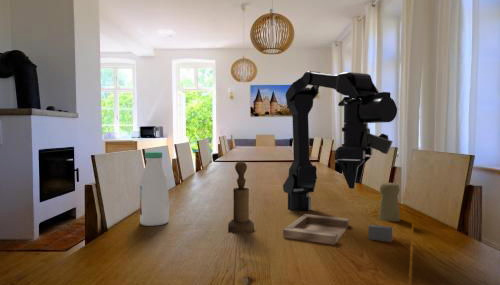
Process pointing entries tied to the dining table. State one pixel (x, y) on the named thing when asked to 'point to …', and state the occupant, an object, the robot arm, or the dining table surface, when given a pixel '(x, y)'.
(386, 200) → the cork
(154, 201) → the milk bottle
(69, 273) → the dining table surface
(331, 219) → the wooden tray
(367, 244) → the dining table surface
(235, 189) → the wooden pepper mill
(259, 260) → the dining table surface
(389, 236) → the cover plate
